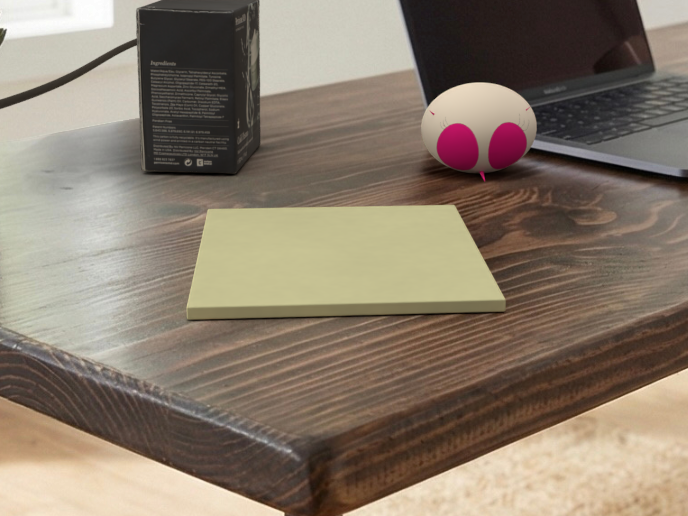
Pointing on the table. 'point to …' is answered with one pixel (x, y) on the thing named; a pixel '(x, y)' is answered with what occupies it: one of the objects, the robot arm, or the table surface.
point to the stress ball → (478, 128)
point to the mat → (339, 263)
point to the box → (198, 84)
